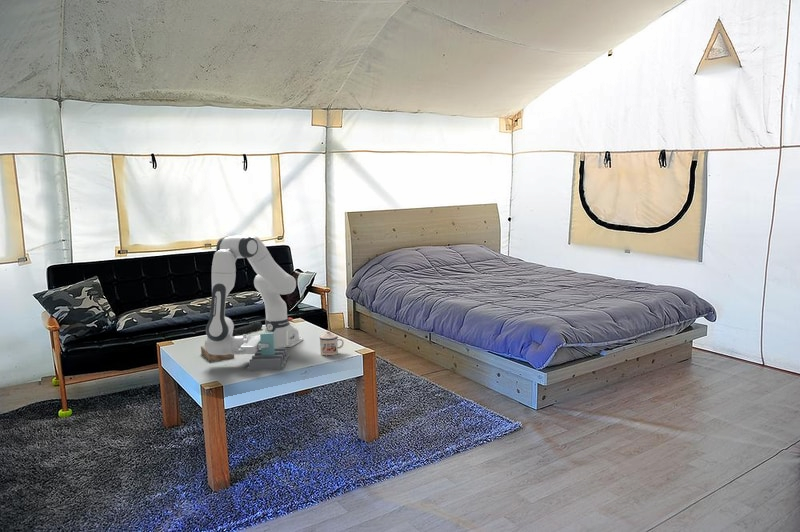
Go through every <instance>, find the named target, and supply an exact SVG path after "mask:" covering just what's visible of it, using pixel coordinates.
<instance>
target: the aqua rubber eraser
mask: <svg viewBox="0 0 800 532" xmlns="http://www.w3.org/2000/svg"><path fill="white" fill-rule="evenodd" d="M259 336H260V339H261V344H265V343H269V347H268V348H262V349H261V355H275V345H274V332H272V333H265V332H261V333H260V334H259Z"/></svg>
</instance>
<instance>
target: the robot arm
mask: <svg viewBox="0 0 800 532" xmlns="http://www.w3.org/2000/svg"><path fill="white" fill-rule="evenodd" d="M215 249H216V251H215V252H214V253H213V258H212V262H211V264H212V265H211V299H210V300H211V302H210V303H211V304H210V315H209V319H208V322H207V324H206V325H205V334H206V338H205V340H204V346H205V348H206V351H207V352H208V353H209V354H212V355H226V354H232V355H234V356H235V355H237V356H238V355H255V353H256V352H257V351H258V350H259V349H262V348H268V347H269V343H265V344H261V339H260V334H259V335H257V334H255V335H254V334H253V335H252V334H251V335H250V334H249V335H248V334H247V333H242V334H240V335H236V336H232V335H233V329H235V324H234V322H233V320H232V319H231V318H230V317H228V316H226V315H225V314H226V303H227V299H228V298H227V297H228V296H229V294H230V292H231V291H232V290H233V288H234V287H235V283H236V277H237V276H236V275H237V274H236V272H237V268H236V263H237V260H238V259H247V261H248V263H249V264H250V265H251V267H252V269H253V271H254V272H255V273H256V275H255V277H254V279H253V285H254V288H255V289H256V291H258V292H259V294H260V296H261V297H262V298H261V299H262V300H263V302H264V303H263V304H264V309H265V310H264V311H265V322H264V323H265V332H264V333H272V332H274V345H275V348H292V347H294V346H296V345H298V344H299V343H301V342H302V341H304V338H303V337H301V336H299V335H300V334H299V330H298V329H297V328H296V327H294V326H293V325H291V324H290V322H292V321H293V317H288V307H287V303H286V301H285V300H284V299H283V298H282V297H281V295H282V296H283V295H288V294H292V293H293V292H295V289H296V287H297V281H296V278H295V277H294V276H292V275H291V274H289V273H287V272H286V271H285V270H284V269H283V268H282V267H281V266H280V265H279V264H278V263H277V262H276V261H275V260H274V257H272V254H271V253H270V251H269V250H268V248H267V247H266V245H265V243H263V241H262V240H261V239H260V238H259V237H258V236H256V235H232V236H231V235H230V236H229V235H227V236H223V237H221V238H219V239H218V241H217V243H216V248H215Z"/></svg>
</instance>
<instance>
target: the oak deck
mask: <svg viewBox="0 0 800 532" xmlns="http://www.w3.org/2000/svg"><path fill="white" fill-rule="evenodd" d="M200 353H201V355H202V357H204V358H205V359H206V358H207V361H208V362H215V360H216V361H221V360H227V359H231V358H235V355H232V354H226V355H212V354H209V353H208V352H207V351H206V348H205V345H201V346H200Z"/></svg>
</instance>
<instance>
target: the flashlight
mask: <svg viewBox="0 0 800 532" xmlns="http://www.w3.org/2000/svg"><path fill="white" fill-rule="evenodd" d="M262 328H263V323H262V322H261V321H257V320H256V321H253V322H252V323H250V324H248V325H244V326H240V327H236V328H234V329H233V335H232V336H240V335H243V334H247V333H249V332H253V331H254V332H255V331H258V330H261V329H262Z"/></svg>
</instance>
